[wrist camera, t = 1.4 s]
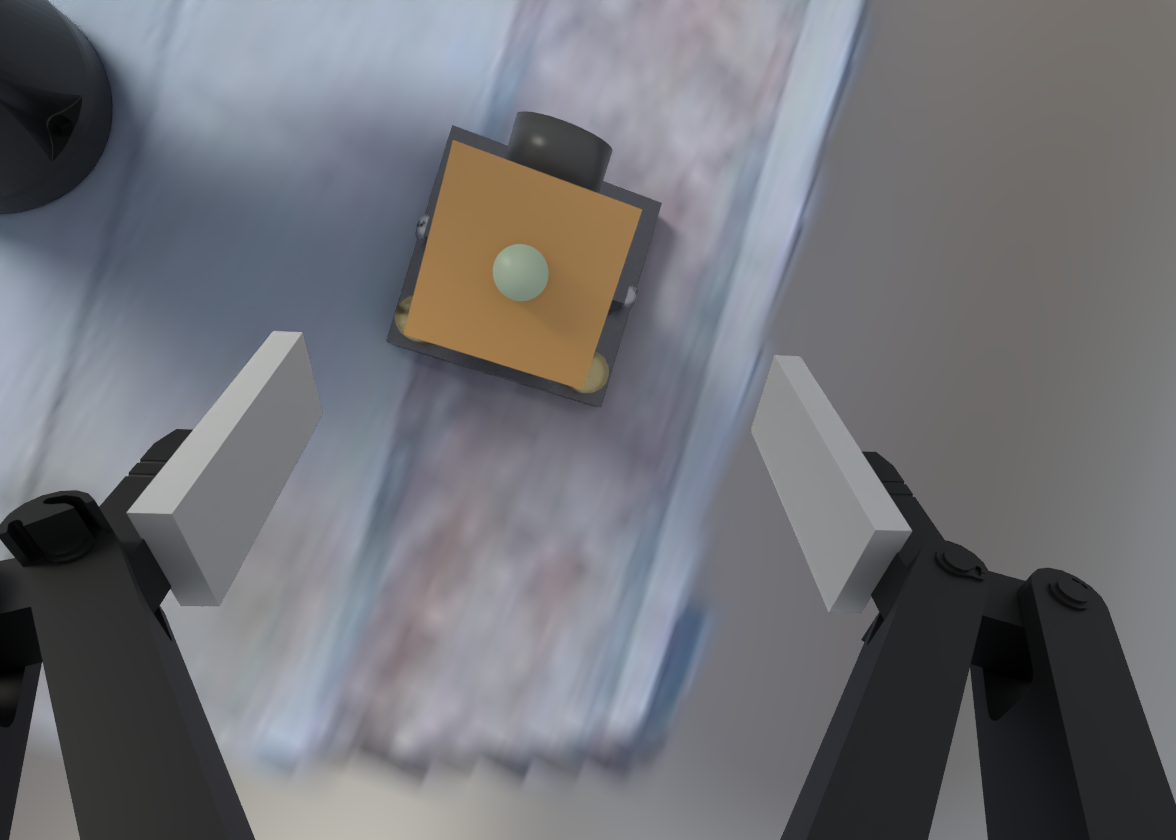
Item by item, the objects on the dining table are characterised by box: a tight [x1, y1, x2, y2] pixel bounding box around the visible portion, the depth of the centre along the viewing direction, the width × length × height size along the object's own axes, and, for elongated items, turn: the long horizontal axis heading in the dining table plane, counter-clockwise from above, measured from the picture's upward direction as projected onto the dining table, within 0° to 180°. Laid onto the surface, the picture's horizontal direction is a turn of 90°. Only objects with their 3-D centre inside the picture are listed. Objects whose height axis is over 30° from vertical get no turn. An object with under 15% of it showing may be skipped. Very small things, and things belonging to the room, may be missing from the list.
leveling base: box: [386, 125, 661, 407], centre depth 40 cm, size 16×16×8 cm
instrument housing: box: [404, 112, 642, 390], centre depth 32 cm, size 11×9×16 cm
